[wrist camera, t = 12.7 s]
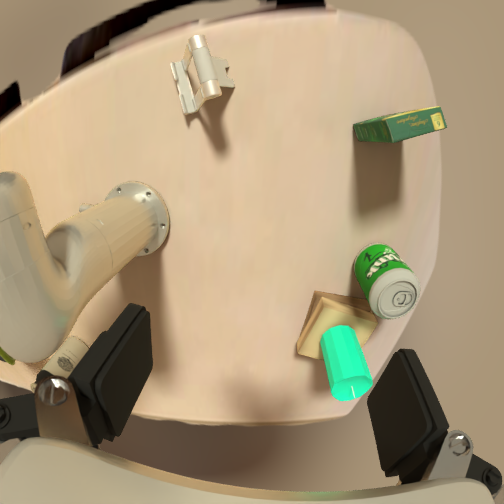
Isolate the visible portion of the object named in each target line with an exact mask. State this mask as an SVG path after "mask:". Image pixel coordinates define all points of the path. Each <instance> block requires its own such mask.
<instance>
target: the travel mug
mask: <svg viewBox="0 0 504 504" xmlns="http://www.w3.org/2000/svg"><path fill="white" fill-rule="evenodd" d="M88 350H89V348H88V347H87V346H86V345H85V344H84V343H83V342H82V341H81V340H79V339H77V338H75V337H69V338H68V339H67V340H66V341H65V342H64V343H63V345H62V346H61V347H60V348H59V349H58V350H57V352H56V353H55V354H54V355H53V356H52V357H51V359H50V360H49V361H48V362H47V363H46V365H45V366H44V367H43V368H42V370H41V371H40V372H39V373H38V374H37V378H36V382H35V383H32V384H31V389H32V391H33V393H34V390H35V387H36V385H37V383H38V382H39V381H40V380H41V379H43V378H45V377H47V376H51V375H58V376H62V377H65V378H66V379H67V378H68V376H69V375H70V374H71V372H72V371H73V369H74V368H75V367H76V365H77V364H78V363H79V361H80V360H81V359H82V357H83V356H84V355H85V353H86V352H87V351H88Z"/></svg>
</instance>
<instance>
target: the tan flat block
mask: <svg viewBox="0 0 504 504" xmlns="http://www.w3.org/2000/svg"><path fill="white" fill-rule="evenodd" d="M321 297H325V298H328V299H331V300H334V301H337V302H340V303H343V304H346V305H349V306H352V307H355V308H359V309H362V310H365V311H368V312H370V311H371V307H370V305H369V303H368V301H367V300H366V299H360V298H354V297H348V296H342V295H337V294H331V293H325V292H319V291H314V294H313V298H312V301H311V304H310V307H309V310H308V313H307V316H306V319H305V322H304V325H303V328H302V331H301V334H302V332H303V331H304V329H305V327H306V325H307V323H308V322H309V320H310V318H311V316H312V314H313V312H314V310H315V309H316V307H317V305H318V303H319V301H320V299H321ZM301 334H300V336H301Z"/></svg>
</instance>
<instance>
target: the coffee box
mask: <svg viewBox="0 0 504 504" xmlns="http://www.w3.org/2000/svg"><path fill="white" fill-rule="evenodd" d="M353 127H354V130H355V133H356V136H357V138H358V140H359V141H372V142H388V143H395V142H399V141H402V140H406V139H409V138H413V137H416V136H420V135H423V134H427V133H431V132H434V131H438V130H442V129H445V128H447V125H446V122H445V119H444V116H443V113H442V110H441V107H440V106H437V107H431V108H424V109H418V110H412V111H406V112H401V113H395V114H390V115H386V116H381V117H377V118H374V119H370V120H366V121H363V122H359V123H356V124H353Z"/></svg>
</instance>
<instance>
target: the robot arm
mask: <svg viewBox="0 0 504 504" xmlns="http://www.w3.org/2000/svg"><path fill="white" fill-rule="evenodd" d="M150 192H151V194H150ZM79 211H80V213H78V214H76V215H74V216H72V217H70V218H68V219H66V220H64V221H62V222H60V223H59V224H57V225H56V226H55V227H54V228H52V229H51V230H50V232H49V233H48V234H47V235H46V237H45V236H44V233H43V230H42V227H41V224H40V220H39V217H38V214H37V210H36V207H35V204H34V200H33V196H32V193H31V190H30V187H29V185H28V183H27V181H26V179H25V178H24V177H23V176H22V175H21V174H19V173H17V172H13V171H7V172H1V173H0V347H1V348H2V349H3V350H4V351H5V352H6V353H7V354H8V355H9V356H11V357H12V358H14V359H16V360H18V361H21V362H24V363H35V362H39V361H42V360H44V359H46V358H48V357H49V356H51V355H52V354H53V353H55V352H56V351H57V350H58V349H59V347H60V346H61V345H62V344H63V342H64V341H65V340H66V338H67V337H68V335H69V333H70V332H71V330H72V328H73V326H74V324H75V322H76V321H77V319H78V317H79V315H80V313H81V312H82V310H83V309H84V307H85V306H86V305H87V304H88V302H89V301H90V300H91V299H92V298H93V297H94V296H95V295H96V293H97V292H98V291H99V290H100V289H101V288H102V287H103V286H104V285H105V284H106V283H108V282H109V281H110V280H111V279H112V278H113V277H114V276H115V275H116V274H117V273H118V272H119V271H120V270H121V269H122V268H123V267H124V266H125V265H127V264H128V263H129V262H130V261H131V260H132V259H133V258H134V257H135V256H145V255H149V254H151V253H153V252H154V251H156V250H157V249H158V248H159V247H160V246H161V245H162V244H163V243H164V241H165V239H166V237H167V234H168V231H169V214H168V210H167V207H166V205H165V203H164V201H163V199H162V198H161V196H160V195H159V194H158V193H157V192H156V191H155V190H154V189H153V188H151V187H150V186H148V185H146V184H144V183H140V182H126V183H123V184H120V185H118V186H116V187H115V188H113V189H112V190H111V191H110V192H109V193H108V195H107V197H106V198H105V201H104V202H102V203H100V204H96V205H95V206H94V205H91V204H85V203H83V204H81V206H80V209H79ZM164 224H165V226H164ZM152 366H153V358H152V345H151V328H150V313H149V312H148V311H146V308H145V307H144V306H140V305H136V304H133V303H130V304H129V305H128V306H127V307H126V308H125V309H124V311H123V312H122V313H121V314H120V316H119V317H118V318H117V319H116V321H115V322H114V323H113V325H112V326H111V327H110V328H109V330H108V331H104V332H102V333H101V334H100V335H99V337H98V338H97V339H96V341H95V342H94V343H93V344H92V346H91V347H90V348H89V350H88V351H87V352H86V353H85V355H84V356H83V357H82V359H81V360H80V361H79V363H78V364H77V365H76V367H75V368H74V369H73V371H72V372H71V374H70V375H69V376H68V378H67V379H66V378H65V377H62V376H58V375H51V376H47V377H45V378H43V379H41V380H40V381H39V382H38V383H37V385H36V387H35V390H34V393H32V394H26V395H21V396H16V397H10V398H4V399H0V504H504V485H502V476H501V473H500V471H499V470H498V469H497V468H496V467H494V466H493V465H491V464H489V463H488V462H486V461H484V460H482V459H481V458H479V457H478V456H476V455H474V454H473V443H472V440H471V438H470V437H469V436H468V435H467V434H466V433H464V432H462V431H460V430H453V431H451V432H449V433H448V431H447V429H448V428H449V424H448V422H447V419H446V417H445V415H444V412H443V410H442V407H441V405H440V403H439V401H438V398H437V396H436V394H435V392H434V390H433V387H432V385H431V383H430V381H429V379H428V377H427V375H426V373H425V370H424V368H423V366H422V364H421V362H420V360H419V358H418V356H417V354H416V352H415V351H414V350H412V349H399V350H398V352H395V353H394V354H393V356H392V358H391V360H390V361H389V363H388V365H387V367H386V369H385V370H384V372H383V374H382V375H381V377H380V379H379V380H378V382H377V384H376V385H375V387H374V388H373V390H372V392H371V393H370V395H369V396H368V400H367V405H368V409H369V413H370V418H371V422H372V426H373V431H374V435H375V440H376V444H377V450H378V454H379V460H380V465H381V469H382V470H383V471H385V476H386V477H392V476H398V475H399V481H398V483H397V484H396V486H390V487H383V488H376V489H375V488H374V489H366V490H353V491H338V492H292V491H274V490H263V489H252V488H245V487H237V486H231V485H224V484H218V483H213V482H207V481H203V480H198V479H193V478H189V477H185V476H181V475H176V474H173V473H169V472H166V471H162V470H158V469H155V468H152V467H148V466H145V465H142V464H139V463H136V462H133V461H130V460H126V459H124V458H121V457H118V456H116V455H113V454H110V453H107V452H104V451H101V449H100V447H99V444H100V443H101V442H102V440H103V438H104V439H106V440H109V441H111V442H112V441H113V440H114V437H115V436H120V435H121V433H122V430H123V428H124V426H125V424H126V422H127V420H128V418H129V416H130V414H131V412H132V409H133V407H134V405H135V403H136V401H137V399H138V397H139V395H140V393H141V391H142V389H143V387H144V385H145V383H146V381H147V379H148V377H149V374H150V372H151V370H152ZM501 485H502V486H501Z"/></svg>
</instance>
